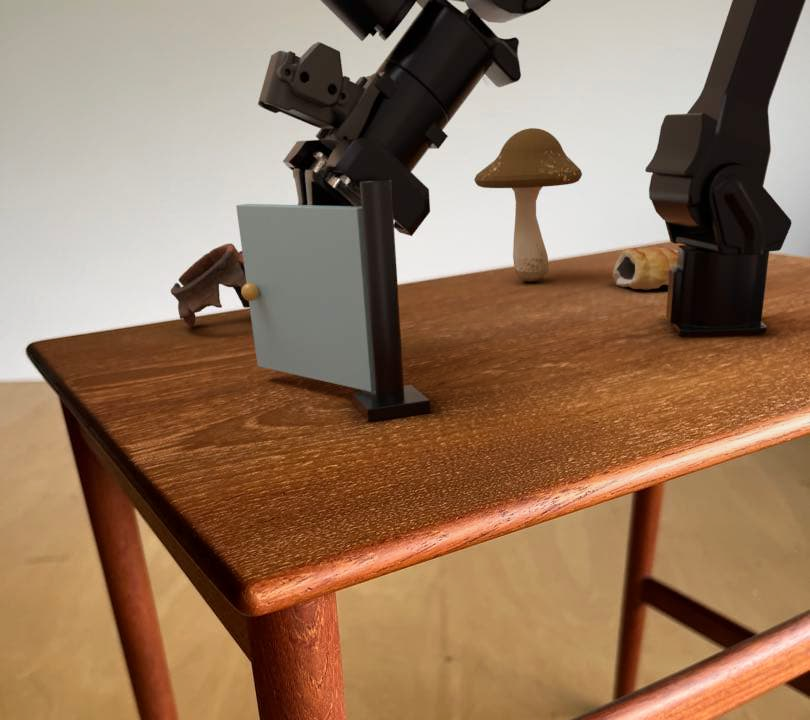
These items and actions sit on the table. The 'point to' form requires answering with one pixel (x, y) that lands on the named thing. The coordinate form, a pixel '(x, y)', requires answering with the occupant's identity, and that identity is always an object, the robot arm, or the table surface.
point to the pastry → (644, 267)
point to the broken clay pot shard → (210, 281)
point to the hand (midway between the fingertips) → (276, 282)
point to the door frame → (384, 311)
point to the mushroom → (529, 191)
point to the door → (308, 291)
